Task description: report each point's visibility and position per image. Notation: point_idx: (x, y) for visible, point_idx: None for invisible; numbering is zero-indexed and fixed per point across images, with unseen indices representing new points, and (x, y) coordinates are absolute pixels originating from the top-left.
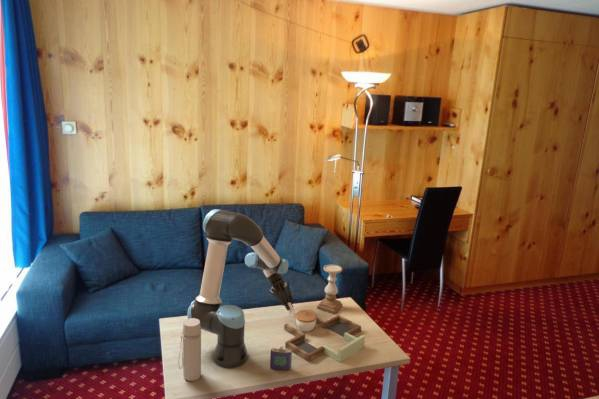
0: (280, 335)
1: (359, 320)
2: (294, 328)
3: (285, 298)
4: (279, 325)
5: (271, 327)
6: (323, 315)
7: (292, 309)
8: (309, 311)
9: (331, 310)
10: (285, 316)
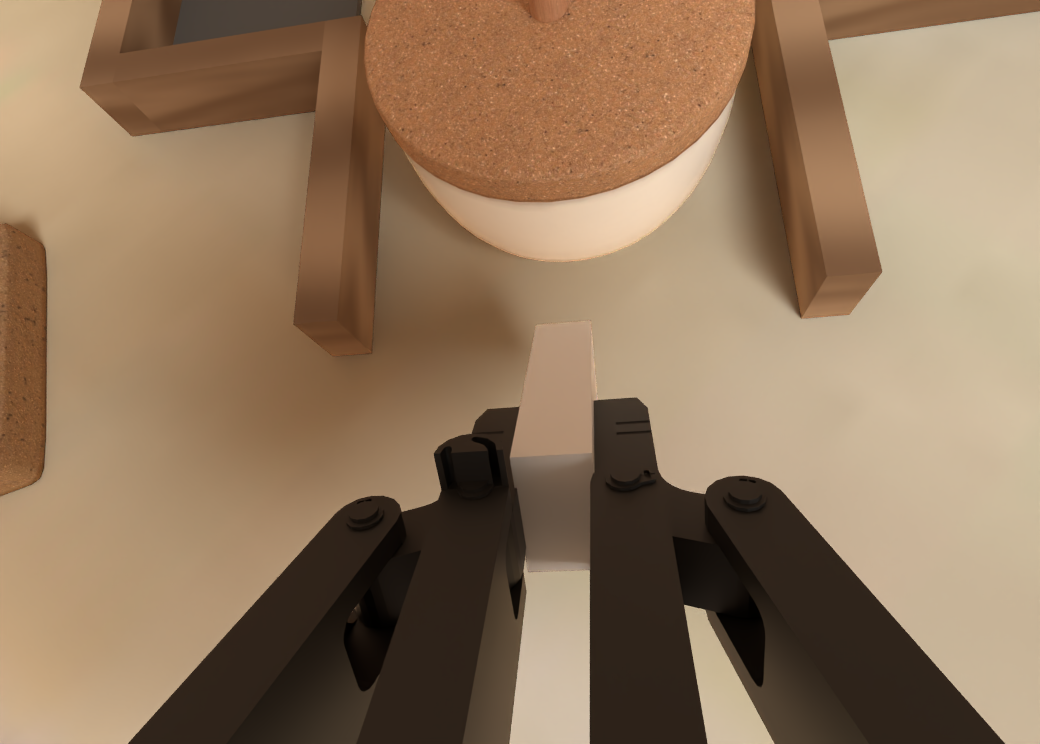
0: (987, 237)
1: (9, 32)
2: (803, 111)
3: (594, 569)
4: (833, 458)
5: (1000, 492)
6: (144, 297)
7: (563, 362)
8: (405, 70)
9: (7, 256)
10: (558, 622)
